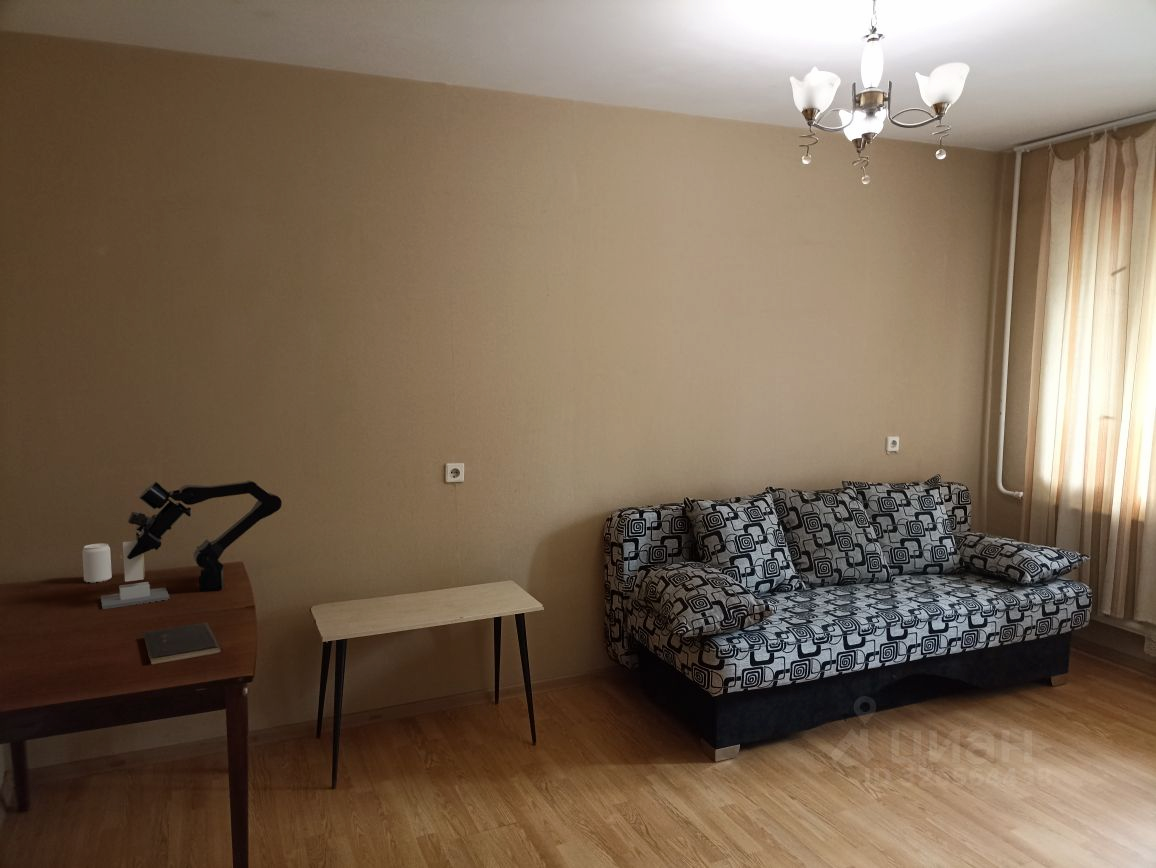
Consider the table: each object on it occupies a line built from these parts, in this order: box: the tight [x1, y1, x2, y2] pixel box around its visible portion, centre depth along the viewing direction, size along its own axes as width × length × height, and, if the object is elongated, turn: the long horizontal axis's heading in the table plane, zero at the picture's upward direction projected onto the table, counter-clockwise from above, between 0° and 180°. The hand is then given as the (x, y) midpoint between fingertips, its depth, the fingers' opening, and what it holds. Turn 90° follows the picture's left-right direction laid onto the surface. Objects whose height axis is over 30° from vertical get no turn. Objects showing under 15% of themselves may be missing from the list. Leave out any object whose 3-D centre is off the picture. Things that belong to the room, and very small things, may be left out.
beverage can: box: [81, 542, 113, 584], centre depth 276 cm, size 8×8×12 cm
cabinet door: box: [119, 539, 146, 582], centre depth 252 cm, size 6×2×12 cm, turn 122°
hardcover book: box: [142, 621, 222, 665], centre depth 210 cm, size 16×23×2 cm
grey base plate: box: [100, 581, 171, 610], centre depth 253 cm, size 18×13×4 cm
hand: (127, 557), depth 251 cm, fingers closed on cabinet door, 2 cm apart
